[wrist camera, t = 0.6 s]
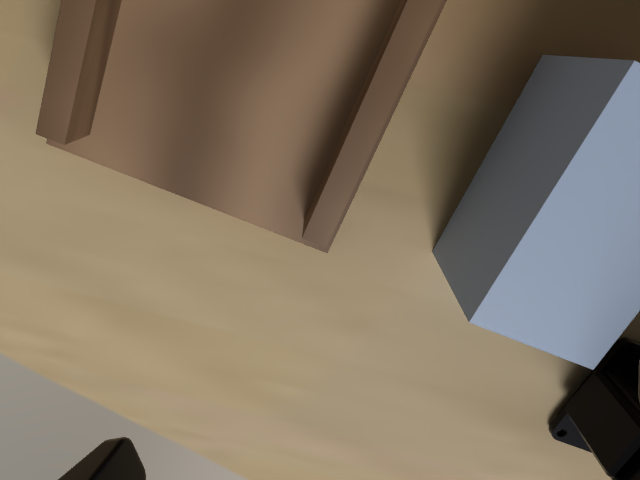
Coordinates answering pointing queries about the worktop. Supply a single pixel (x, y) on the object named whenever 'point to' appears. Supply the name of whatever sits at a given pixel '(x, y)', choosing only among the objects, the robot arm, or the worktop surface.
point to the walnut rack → (236, 98)
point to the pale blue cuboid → (555, 214)
